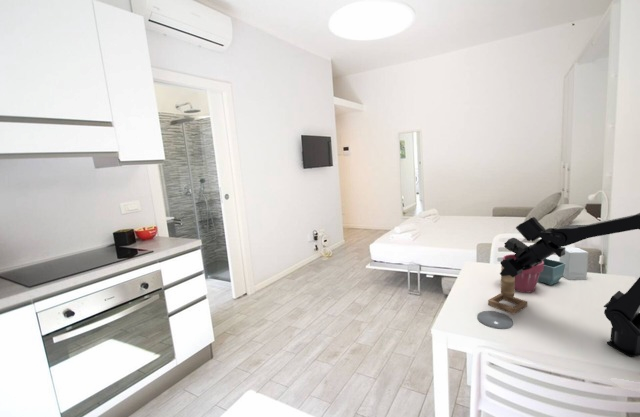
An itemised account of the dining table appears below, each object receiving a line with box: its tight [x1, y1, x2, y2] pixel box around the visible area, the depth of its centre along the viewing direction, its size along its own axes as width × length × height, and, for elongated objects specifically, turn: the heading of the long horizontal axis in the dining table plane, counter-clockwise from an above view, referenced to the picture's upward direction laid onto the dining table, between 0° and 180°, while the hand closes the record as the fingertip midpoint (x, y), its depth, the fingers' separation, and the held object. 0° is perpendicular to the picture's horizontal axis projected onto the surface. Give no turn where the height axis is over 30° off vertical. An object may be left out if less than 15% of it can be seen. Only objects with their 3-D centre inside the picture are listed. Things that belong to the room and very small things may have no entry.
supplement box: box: [558, 247, 589, 281], centre depth 134 cm, size 7×7×13 cm
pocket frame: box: [487, 292, 528, 315], centre depth 115 cm, size 9×9×2 cm
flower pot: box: [537, 258, 565, 286], centre depth 131 cm, size 9×9×9 cm
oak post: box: [500, 264, 516, 297], centre depth 113 cm, size 4×4×12 cm
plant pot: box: [502, 253, 544, 293], centre depth 127 cm, size 14×14×13 cm
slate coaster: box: [477, 310, 514, 330], centre depth 106 cm, size 11×11×1 cm
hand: (504, 273), depth 114 cm, fingers closed on oak post, 4 cm apart
